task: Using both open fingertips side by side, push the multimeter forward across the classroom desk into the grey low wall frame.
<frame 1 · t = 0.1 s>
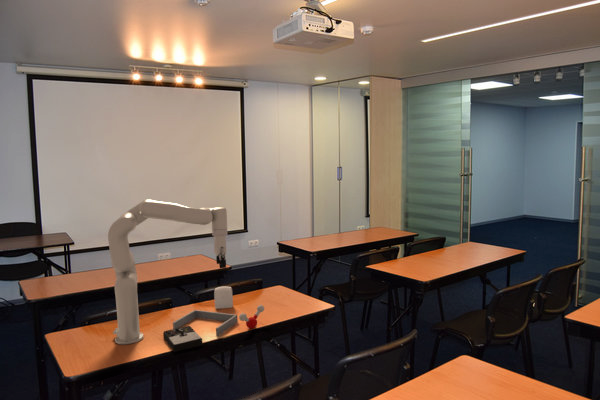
hand: (221, 265, 217), 31 cm above the table, tool pointing down, fingers open, 9 cm apart
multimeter: (182, 342, 202), on the table
grey low wall frame: (205, 326, 219), on the table
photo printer: (224, 307, 247), on the table
molecular model: (252, 328, 215), on the table
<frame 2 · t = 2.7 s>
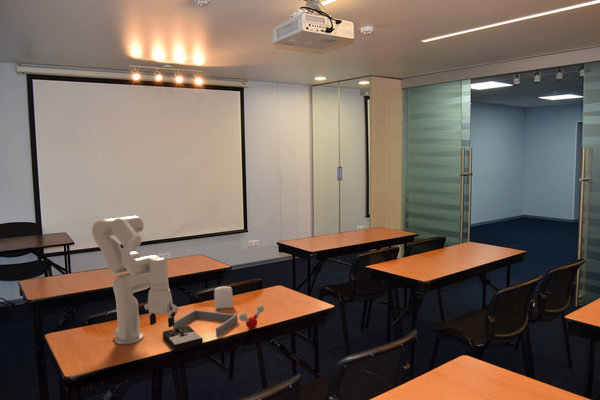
hand: (162, 325, 187), 13 cm above the table, tool pointing down, fingers open, 9 cm apart
nothing on the table moved.
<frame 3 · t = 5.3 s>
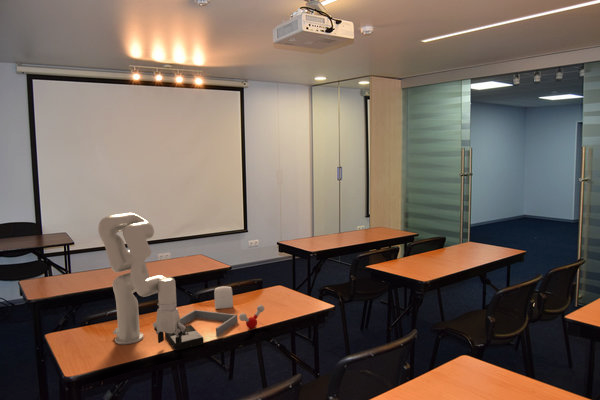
hand: (169, 343, 193), 3 cm above the table, tool pointing down, fingers open, 9 cm apart
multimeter: (184, 341, 203), on the table, touching gripper
everything else where it was.
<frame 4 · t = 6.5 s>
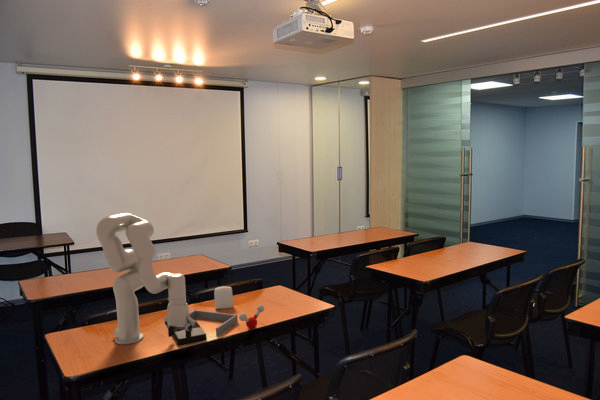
hand: (179, 337, 199), 3 cm above the table, tool pointing down, fingers open, 9 cm apart
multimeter: (188, 337, 208), on the table, touching gripper
everything else where it was.
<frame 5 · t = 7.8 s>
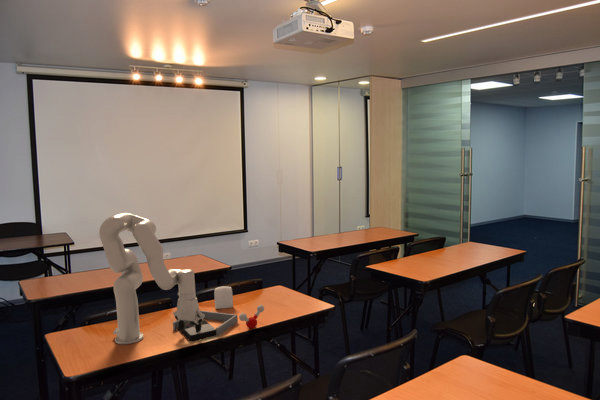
hand: (189, 330, 206), 3 cm above the table, tool pointing down, fingers open, 9 cm apart
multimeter: (197, 334, 212), on the table, touching gripper
everything else where it was.
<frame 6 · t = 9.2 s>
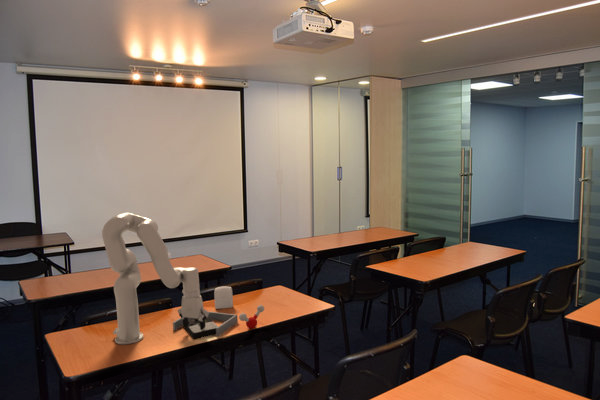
hand: (194, 327, 209), 3 cm above the table, tool pointing down, fingers open, 9 cm apart
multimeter: (201, 331, 215), on the table
everything else where it was.
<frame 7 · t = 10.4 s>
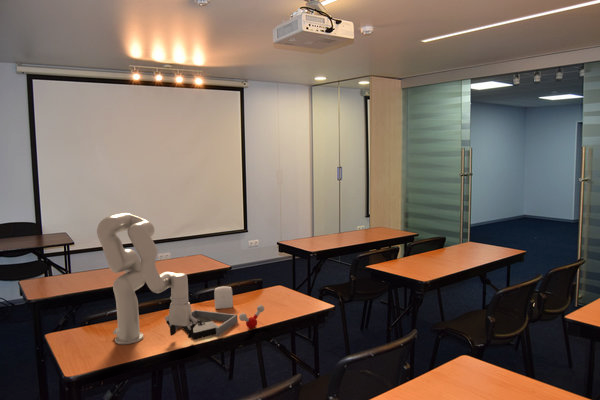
hand: (181, 335, 201), 3 cm above the table, tool pointing down, fingers open, 9 cm apart
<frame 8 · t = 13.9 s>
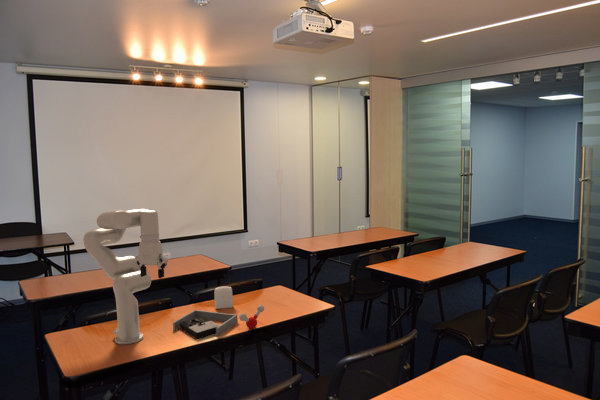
hand: (152, 276, 191), 33 cm above the table, tool pointing down, fingers open, 9 cm apart
at the end: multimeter inside the target area on the grey low wall frame (5.1 cm from its centre), point -0.7 cm above the grey low wall frame's base; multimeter tilted 0°; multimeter moved 13.9 cm from its start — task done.
